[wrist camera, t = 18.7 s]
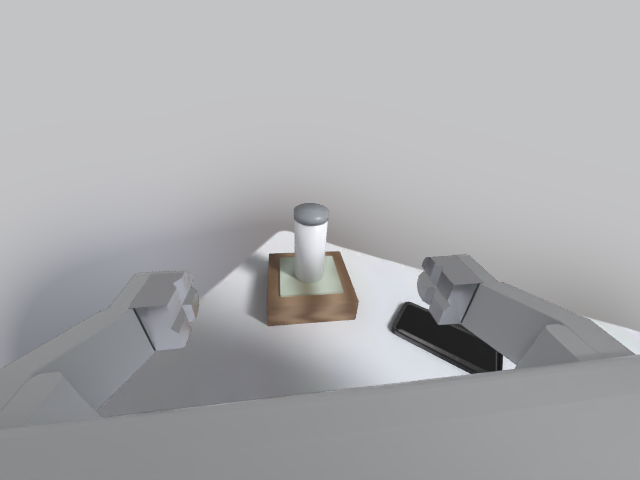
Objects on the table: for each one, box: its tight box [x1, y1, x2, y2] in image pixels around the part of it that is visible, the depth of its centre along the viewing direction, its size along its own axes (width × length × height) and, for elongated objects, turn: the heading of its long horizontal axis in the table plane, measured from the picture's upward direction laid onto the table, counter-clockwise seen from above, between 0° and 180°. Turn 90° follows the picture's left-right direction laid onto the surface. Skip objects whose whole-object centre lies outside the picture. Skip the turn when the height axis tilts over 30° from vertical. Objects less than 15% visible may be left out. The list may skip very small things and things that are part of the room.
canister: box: [294, 203, 329, 283], centre depth 41 cm, size 5×5×12 cm
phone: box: [392, 302, 503, 374], centre depth 39 cm, size 8×1×15 cm
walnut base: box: [267, 251, 359, 326], centre depth 45 cm, size 14×14×4 cm
